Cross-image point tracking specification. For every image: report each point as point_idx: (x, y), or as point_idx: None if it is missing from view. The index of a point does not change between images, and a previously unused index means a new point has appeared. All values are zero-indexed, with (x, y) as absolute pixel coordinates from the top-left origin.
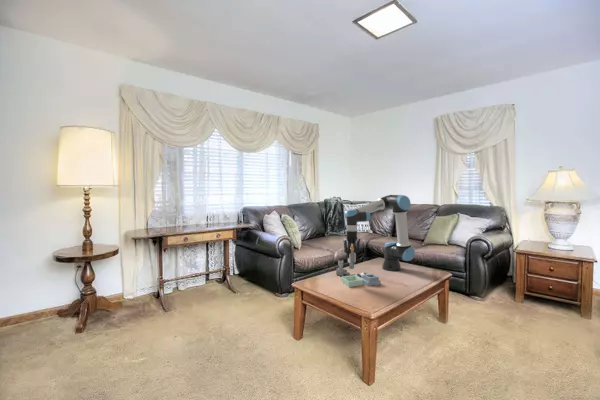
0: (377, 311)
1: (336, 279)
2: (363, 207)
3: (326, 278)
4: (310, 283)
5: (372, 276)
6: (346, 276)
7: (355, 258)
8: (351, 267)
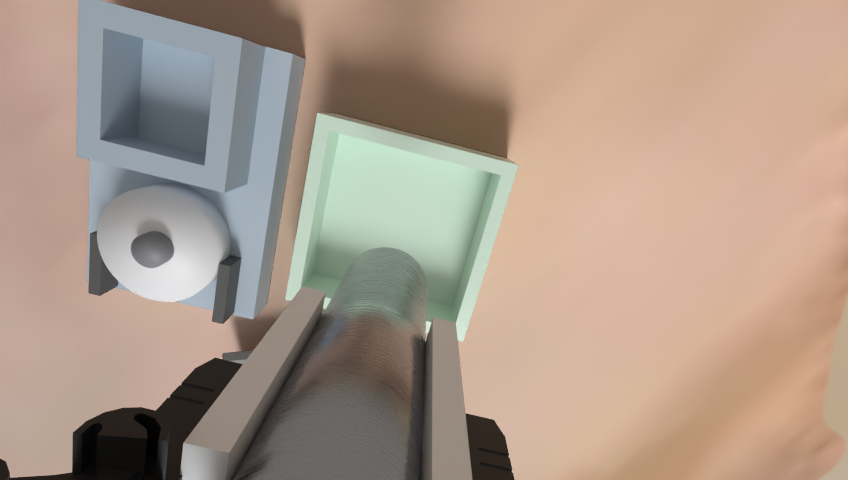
0: None
1: None
2: None
3: None
4: (718, 435)
5: (119, 131)
6: None
7: (269, 333)
8: (415, 268)
